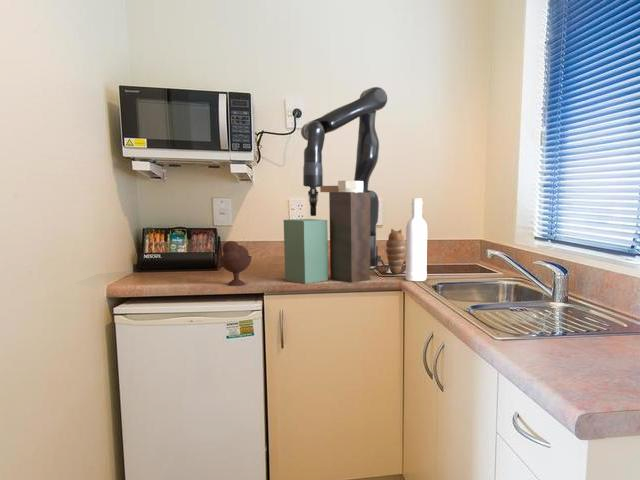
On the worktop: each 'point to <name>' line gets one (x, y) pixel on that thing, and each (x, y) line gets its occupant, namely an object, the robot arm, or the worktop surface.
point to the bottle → (416, 244)
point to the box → (306, 250)
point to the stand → (349, 236)
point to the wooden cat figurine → (395, 250)
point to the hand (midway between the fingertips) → (313, 215)
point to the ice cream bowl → (235, 260)
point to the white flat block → (344, 187)
